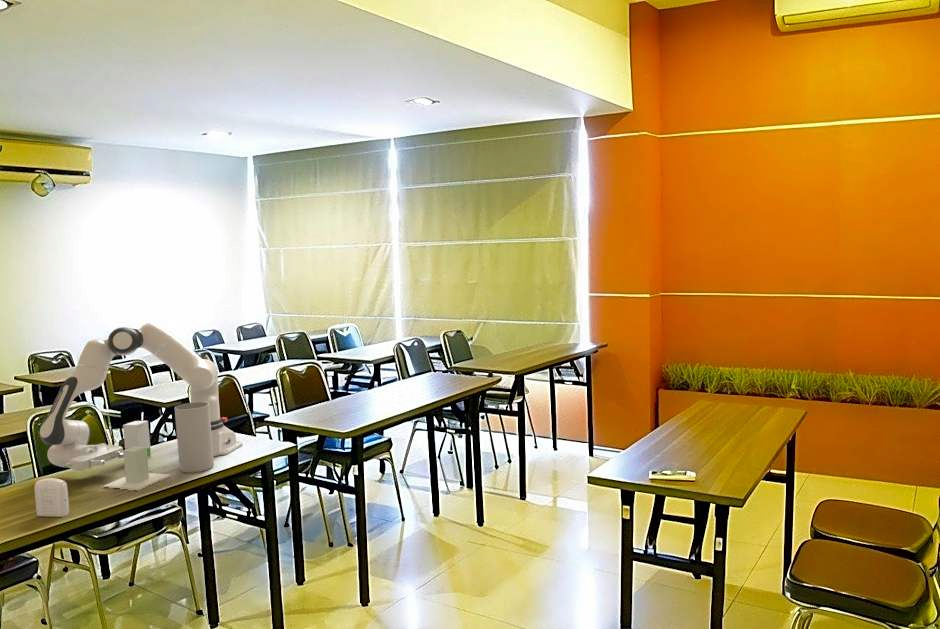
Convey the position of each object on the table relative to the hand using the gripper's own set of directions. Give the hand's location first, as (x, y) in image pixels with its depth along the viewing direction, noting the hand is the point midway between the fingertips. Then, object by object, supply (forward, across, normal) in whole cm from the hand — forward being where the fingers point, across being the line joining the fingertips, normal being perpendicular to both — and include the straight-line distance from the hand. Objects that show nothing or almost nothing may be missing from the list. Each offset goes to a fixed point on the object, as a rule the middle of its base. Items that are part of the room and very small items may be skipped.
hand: (113, 459), depth 273 cm
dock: (+11, 0, +8) cm, 14 cm away
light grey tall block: (+11, 0, +7) cm, 13 cm away
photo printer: (+9, -34, +8) cm, 36 cm away
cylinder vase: (+22, +19, +8) cm, 30 cm away
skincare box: (-12, +24, +8) cm, 28 cm away
